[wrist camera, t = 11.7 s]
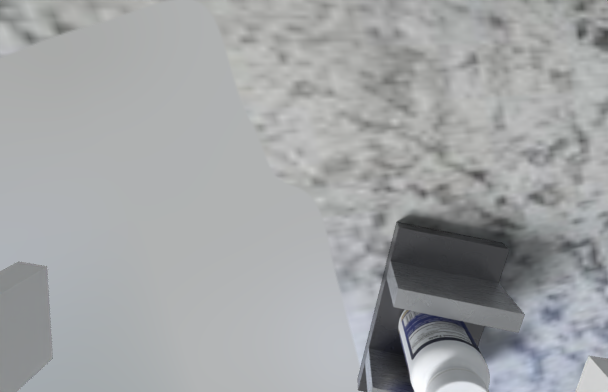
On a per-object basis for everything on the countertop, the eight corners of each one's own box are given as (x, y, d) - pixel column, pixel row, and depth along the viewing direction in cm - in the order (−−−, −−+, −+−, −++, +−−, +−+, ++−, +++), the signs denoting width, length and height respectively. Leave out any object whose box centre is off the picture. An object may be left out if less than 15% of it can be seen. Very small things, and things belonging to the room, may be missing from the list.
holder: (396, 222, 34) (408, 250, 28) (502, 242, 34) (538, 276, 28) (357, 379, 38) (360, 434, 32) (451, 399, 38) (473, 459, 32)
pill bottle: (455, 356, 35) (496, 451, 26) (393, 347, 36) (411, 437, 26) (467, 300, 34) (515, 379, 25) (402, 291, 34) (425, 366, 25)
